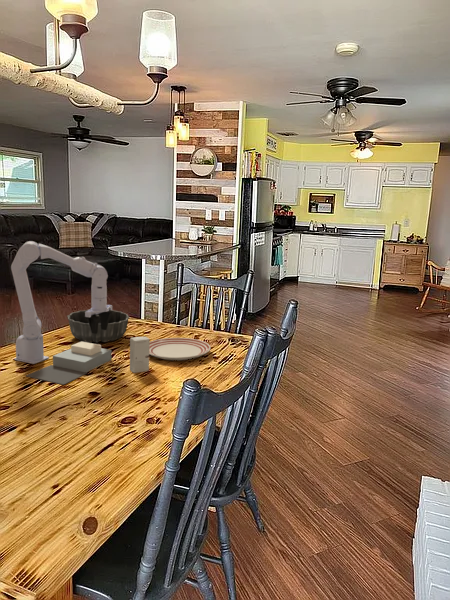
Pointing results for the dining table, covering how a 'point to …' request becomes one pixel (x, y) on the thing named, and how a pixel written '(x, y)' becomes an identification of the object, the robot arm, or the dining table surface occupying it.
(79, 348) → the cream rectangular block
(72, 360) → the grey flat block
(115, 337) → the bundt pan
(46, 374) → the mat
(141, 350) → the skincare box
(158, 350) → the dinner plate
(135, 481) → the dining table surface
